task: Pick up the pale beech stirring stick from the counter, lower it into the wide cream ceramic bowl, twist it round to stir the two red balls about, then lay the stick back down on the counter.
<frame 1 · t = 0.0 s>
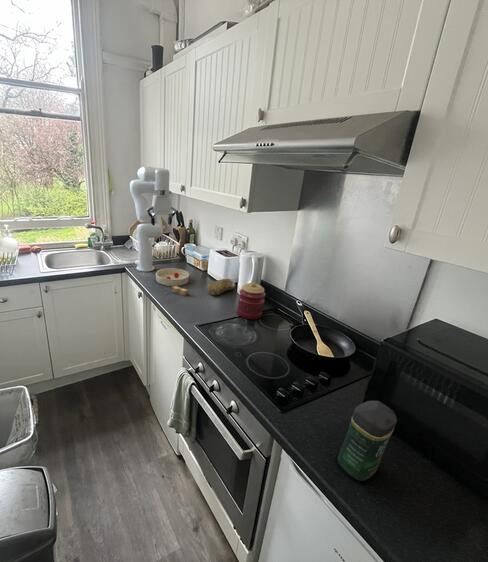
hand: (161, 224, 167), 37 cm above the worktop, tool pointing down, fingers open, 9 cm apart
coffee jar: (356, 466, 77), on the worktop
bowl: (172, 280, 190), on the worktop
stick: (179, 293, 172), on the worktop
ball a: (176, 275, 193), point 2 cm above the worktop, touching bowl
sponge: (219, 292, 177), on the worktop
ball b: (168, 279, 186), point 2 cm above the worktop, touching bowl
kitchen canister: (249, 314, 153), on the worktop
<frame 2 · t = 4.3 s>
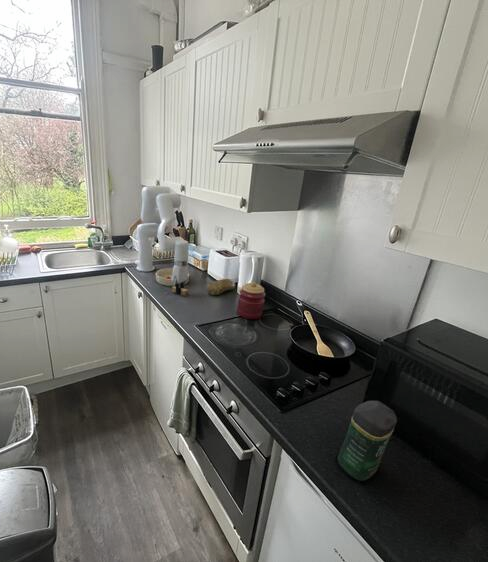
hand: (179, 292, 172), 0 cm above the worktop, tool pointing down, fingers closed on stick, 2 cm apart
stick: (179, 293, 172), on the worktop, touching gripper
everything else where it was.
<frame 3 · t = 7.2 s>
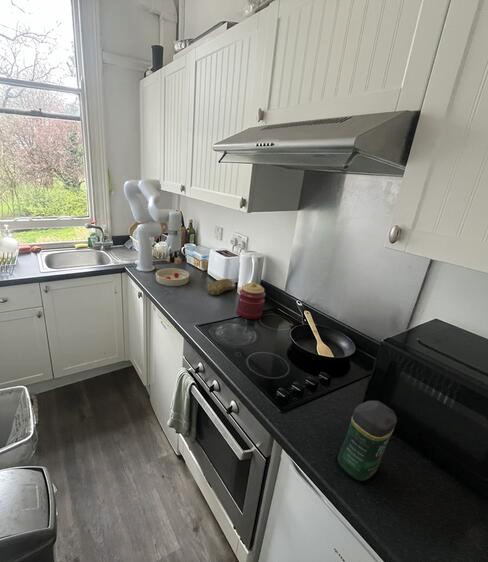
hand: (173, 261, 184), 13 cm above the worktop, tool pointing down, fingers closed on stick, 2 cm apart
stick: (173, 262, 184), point 13 cm above the worktop, touching gripper
everything else where it was.
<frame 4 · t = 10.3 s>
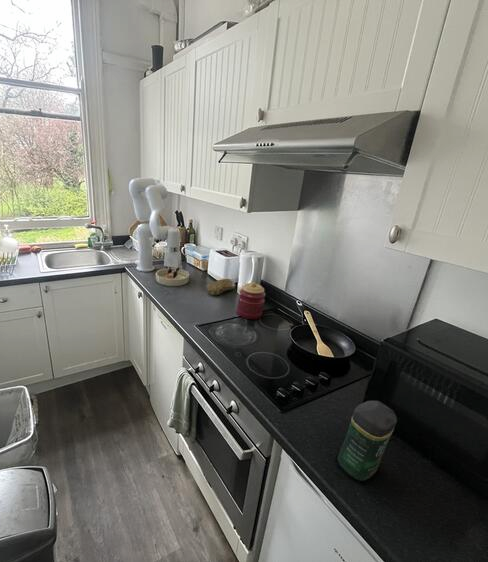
hand: (172, 276, 189), 3 cm above the worktop, tool pointing down, fingers closed on stick, 2 cm apart
stick: (172, 277, 190), point 2 cm above the worktop, touching gripper
ball a: (171, 273, 196), point 2 cm above the worktop, tilted 149°, touching bowl
ball b: (173, 281, 183), point 2 cm above the worktop, tilted 156°, touching bowl
everything else where it was.
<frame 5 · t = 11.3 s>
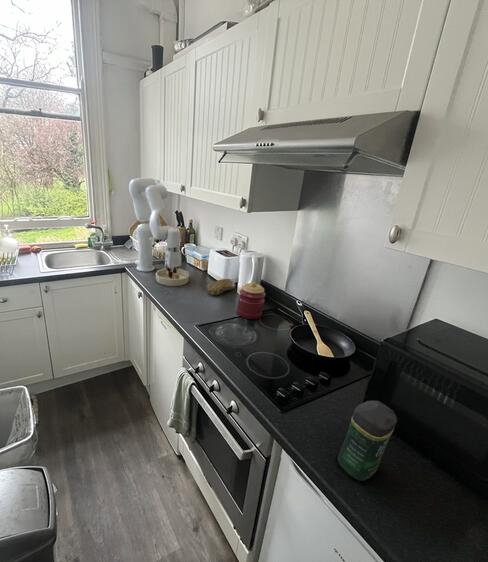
hand: (172, 276, 189), 3 cm above the worktop, tool pointing down, fingers closed on stick, 2 cm apart
stick: (172, 277, 190), point 2 cm above the worktop, touching gripper
ball a: (169, 272, 196), point 2 cm above the worktop, tilted 109°, touching bowl
ball b: (176, 281, 183), point 2 cm above the worktop, tilted 108°, touching bowl
everything else where it was.
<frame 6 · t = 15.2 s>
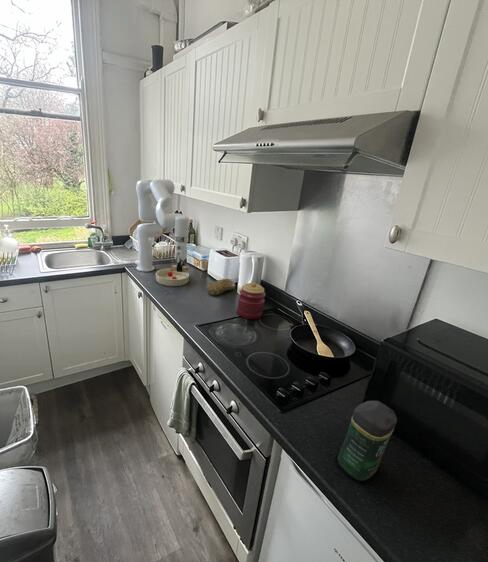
hand: (180, 270, 169), 13 cm above the worktop, tool pointing down, fingers closed on stick, 2 cm apart
stick: (180, 270, 169), point 13 cm above the worktop, touching gripper
ball a: (170, 274, 194), point 2 cm above the worktop, tilted 70°, touching bowl
ball b: (174, 279, 186), point 2 cm above the worktop, tilted 65°, touching bowl
everything else where it was.
when the fingers open (0 cm above the worktop, at t = 18.4 s): stick stays where it is, on the worktop.
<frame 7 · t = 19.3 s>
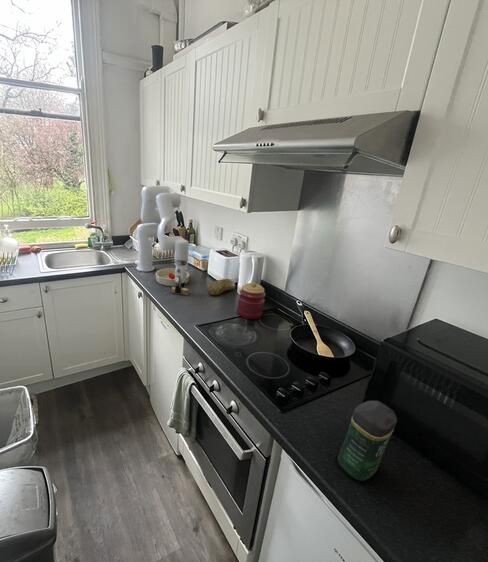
hand: (179, 289, 171), 2 cm above the worktop, tool pointing down, fingers open, 9 cm apart
stick: (180, 293, 172), on the worktop
ball a: (170, 275, 192), point 2 cm above the worktop, tilted 66°, touching bowl
ball b: (172, 277, 189), point 2 cm above the worktop, tilted 108°, touching bowl
everything else where it was.
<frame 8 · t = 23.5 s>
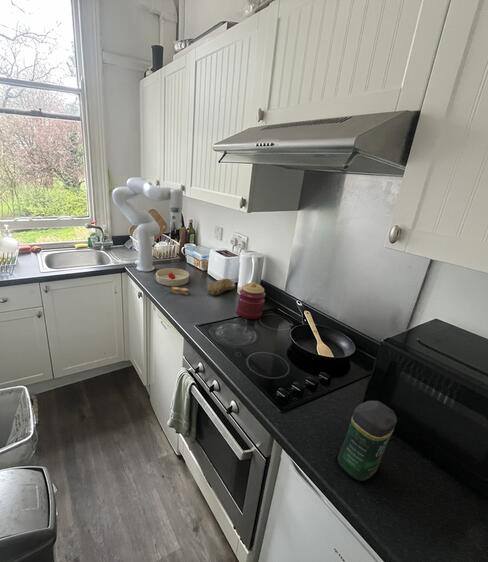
hand: (175, 237, 187), 26 cm above the worktop, tool pointing down, fingers open, 9 cm apart
nothing on the worktop moved.
at the end: ball a moved 3.7 cm from its start; ball a inside the target area in the bowl (3.3 cm from its centre), point 2.2 cm above the bowl's base; stick inside the target area (0.1 cm from its centre), on the worktop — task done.
